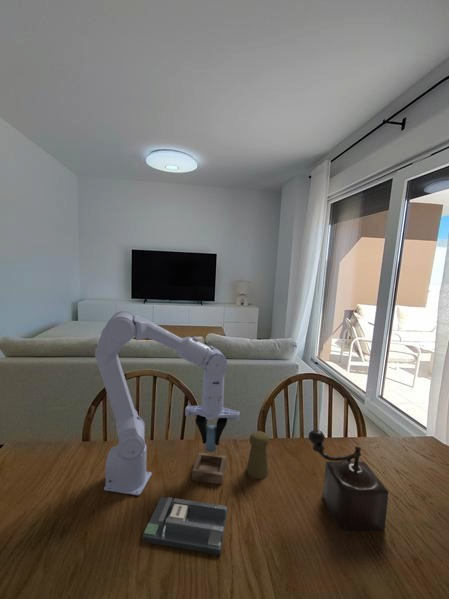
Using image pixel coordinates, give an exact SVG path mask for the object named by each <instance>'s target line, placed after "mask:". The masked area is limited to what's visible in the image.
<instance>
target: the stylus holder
mask: <svg viewBox="0 0 449 599" xmlns="http://www.w3.org/2000/svg"><path fill="white" fill-rule="evenodd" d="M226 466H227V455H223V454H222V455H220V454H214V453H206V452H199V453H198V455H197V458H196V460H195V463H194V465H193V468H192V473H191V474H192V475H191V480H192V481H197V482H204V483H210V484H218V485H223V482H224V481H223V480H224V475H225V471H226Z"/></svg>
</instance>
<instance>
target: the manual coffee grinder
mask: <svg viewBox="0 0 449 599" xmlns="http://www.w3.org/2000/svg"><path fill="white" fill-rule="evenodd" d="M325 439H326V436H325V434H324V432H323V431H321V430H319V429H312V430H311V431H310V432H308V441H310V442H311V444H312V450H313V451H314V452H316V453H318V454H319V455H320V456H322V458H324V459H325V460H328V461H326V462H325V472H324V481H323V483H324V484H323V492H322V494H321V495H322V497H323V500H324V503H325V505H326V506H327V508H328V511H329V513H330V515H331V518H333V520H334V522H335V524H336V525H337V527H338V528H339V530H340V531H345V532H369V531H382V530H385V529H386V526H385V525H386V517H387V510H388V499H389V490H388V489H387V488H386V487H385V485H384V484H383V483H382V481H381V480H380V479H379V478H378V477H377V475H376V474H375V473H374V472H373V470H372V469H371V468H370V467H369V465H368V463H366V462H365V461H360V457H362V453H361V450H362V449H361V446H360V445H356V446H355V447H354V449H355V450H354V451H353V453H351V454H348V455H342V456H330V455H328V454H326V453H325V452H324V450H325V446H324V442H325ZM352 459H354V461H353V460H352Z"/></svg>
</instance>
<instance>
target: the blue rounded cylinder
mask: <svg viewBox="0 0 449 599" xmlns="http://www.w3.org/2000/svg"><path fill="white" fill-rule="evenodd" d="M216 436H217V425H214V424H209V425H208V424H207V427H206V442H205V451H206V452H209V453H213V452H216V451H217V445H216Z"/></svg>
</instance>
